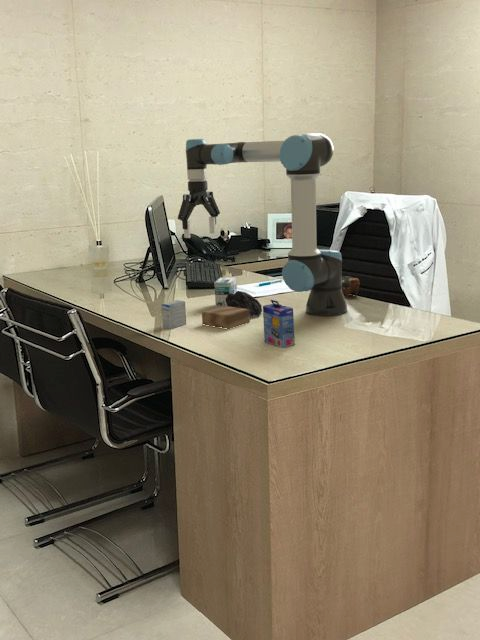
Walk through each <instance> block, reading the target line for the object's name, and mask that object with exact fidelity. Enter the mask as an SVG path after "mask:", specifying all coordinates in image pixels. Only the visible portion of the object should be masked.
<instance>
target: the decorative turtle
mask: <svg viewBox="0 0 480 640" xmlns="http://www.w3.org/2000/svg"><path fill="white" fill-rule="evenodd" d="M360 285H361V282H360V279H359V278H358V277H352V276H349V275H342V292H343V295H344V298H348V297H349V296H350V294H352V295H353V296H357V295H358V293H359V289H360Z"/></svg>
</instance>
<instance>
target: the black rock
mask: <svg viewBox="0 0 480 640" xmlns="http://www.w3.org/2000/svg"><path fill="white" fill-rule="evenodd" d="M225 301H226V304H227V306H229V307H236V308H243V309H249V312H250V319H256V318H258V317H259V316H260V315H261V314H262V312H263V306H262V303H260V301H259V300H258V299H257V298H255V297H254V296H252V295H251V294H249V293H248V292H246V291H241V290H237V292H236V293H235V294H232V293H229V294H228V295H227V297H226V299H225ZM255 317H256V318H255Z"/></svg>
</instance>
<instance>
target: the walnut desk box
mask: <svg viewBox="0 0 480 640" xmlns="http://www.w3.org/2000/svg"><path fill="white" fill-rule="evenodd" d="M201 319H202V325H203V324H205V325H209V326H215V327H222V328H227V329H229V330H231V329H230V328H232V329H234V328H233V327H235V328H237V327H236V326H238V327H240V326H239V325H241V326H243V325H242V324H244V325H246V323H247V324H249V322H251V318H250V312H249V309H243V308H236V307H229V306H222V307H218V308H216V307H214V308H212V309H209V310H205V311H203V312H201ZM209 326H208V327H209ZM215 327H214V328H215ZM227 329H226V330H227Z"/></svg>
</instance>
